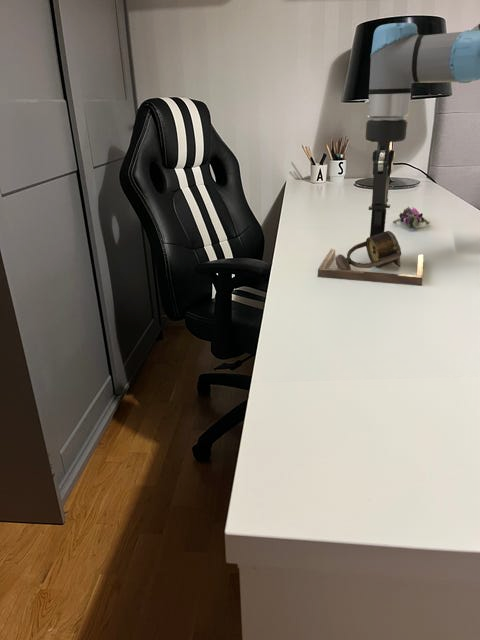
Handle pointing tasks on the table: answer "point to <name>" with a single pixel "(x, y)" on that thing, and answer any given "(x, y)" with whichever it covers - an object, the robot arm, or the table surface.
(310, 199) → the table surface
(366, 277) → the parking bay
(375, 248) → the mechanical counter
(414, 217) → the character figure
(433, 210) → the table surface
